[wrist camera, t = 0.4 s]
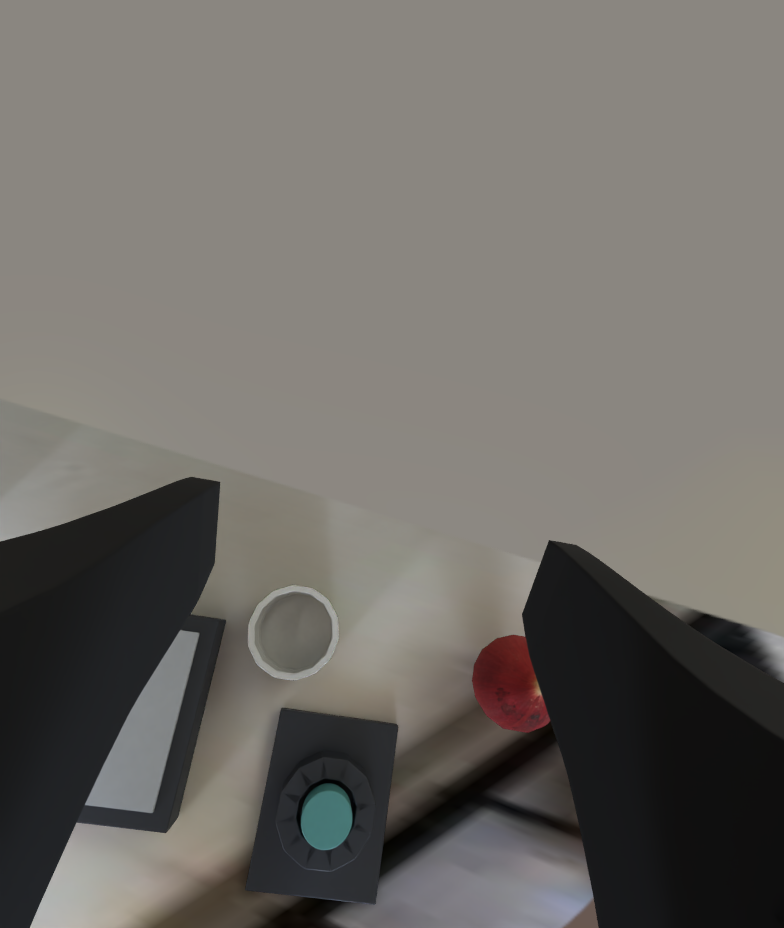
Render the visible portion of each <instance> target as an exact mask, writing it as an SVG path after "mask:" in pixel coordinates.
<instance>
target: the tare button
mask: <svg viewBox="0 0 784 928" xmlns="http://www.w3.org/2000/svg"><path fill="white" fill-rule="evenodd" d="M351 826H352V809H351V803H350V800H349V797H348V795H347V793H346V792H345V791H344V790H343V789H342V788H341V787H340V786H338V785H335V784H332V783H325V784H321V785H319V786H317V787H315V788H314V789H313V790H312V791H311V792H310V793H309V794H308V795H307V797H306V799H305V801H304V804H303V807H302V815H301V829H302V833H303V835H304V837H305V839H306V840H307V842H308V843H309V844H310V845H311V846H313V847H315V848H317V849H320V850H329V849H333V848H335V847H337V846H338V845H340V844H341V843H342V842H343V841H344V840H345V839H346V837H347V836H348V834H349V832H350V829H351Z"/></svg>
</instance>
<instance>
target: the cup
mask: <svg viewBox="0 0 784 928" xmlns="http://www.w3.org/2000/svg"><path fill="white" fill-rule="evenodd" d="M338 640H339V626H338V616H337V614H336V612H335V610H334V609H333V607H332V605H331V603H330V601H329V600H328V599H327V598H326V597H325V596H323V595H322V594H321V593H319V592H318V591H316V590H315V589H314V588H310V587H304V586H298V585H290V586H287V587H284V588H280V589H277V590H274V591H272V592H271V593H270V594H269V595H268V596H267V597H265V598H264V599H263V600H262V601H261V602H260V603H259V604H258V605H257V606H256V608H255V611H254V613H253V615H252V617H251V619H250V621H249V623H248V647H249V649H250V652H251V654H252V656H253V658H254V660H255V662H256V664H257V665H258V666H259V667H260V668H261V669H263V670H264V671H265V672H267V673H268V674H270V675H271V676H272V677H274V678H279V679H286V680H293V681H294V680H298V679H301V678H304V677H307V676H310V675H313V674H315V673H317V672H318V671H319V670H320V669H321V668H322V667H323V666H324V665H325V664H326V663H327V662H328V661H329V660H330V659H331V657H332V655H333V652H334V650H335V647H336V645H337V642H338Z"/></svg>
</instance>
